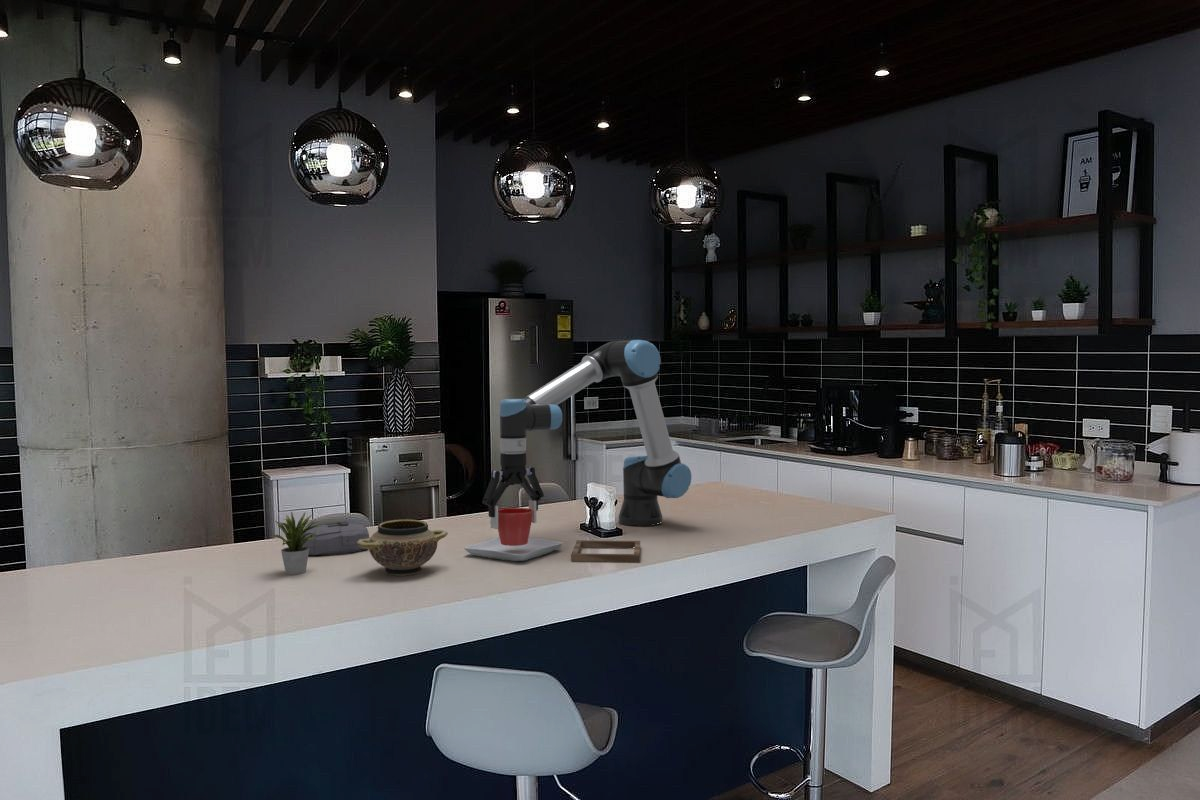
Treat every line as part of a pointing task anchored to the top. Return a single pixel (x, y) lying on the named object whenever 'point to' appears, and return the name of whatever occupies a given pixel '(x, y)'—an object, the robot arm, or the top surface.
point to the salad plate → (513, 549)
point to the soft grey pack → (336, 538)
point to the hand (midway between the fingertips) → (513, 525)
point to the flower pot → (514, 526)
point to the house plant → (295, 544)
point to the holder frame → (605, 557)
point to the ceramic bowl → (402, 545)
